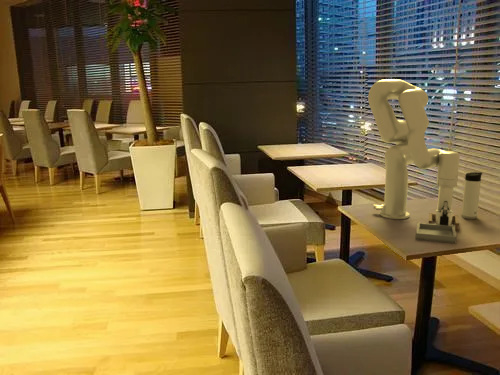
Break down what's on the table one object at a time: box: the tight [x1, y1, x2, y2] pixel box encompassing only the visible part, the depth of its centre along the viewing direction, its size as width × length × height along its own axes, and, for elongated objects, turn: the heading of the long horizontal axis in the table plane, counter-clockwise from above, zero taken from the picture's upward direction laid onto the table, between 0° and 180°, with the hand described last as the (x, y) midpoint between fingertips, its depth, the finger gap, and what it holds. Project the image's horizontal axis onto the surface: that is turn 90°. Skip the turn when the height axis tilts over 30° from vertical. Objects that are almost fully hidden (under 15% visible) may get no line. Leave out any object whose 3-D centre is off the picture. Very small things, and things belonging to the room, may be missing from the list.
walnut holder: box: [427, 212, 460, 231], centre depth 198 cm, size 11×12×3 cm
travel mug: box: [461, 171, 483, 220], centre depth 206 cm, size 6×7×20 cm
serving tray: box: [415, 222, 457, 244], centre depth 185 cm, size 14×14×2 cm
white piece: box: [435, 208, 455, 226], centre depth 195 cm, size 7×7×7 cm
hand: (443, 222), depth 196 cm, fingers open, 9 cm apart
